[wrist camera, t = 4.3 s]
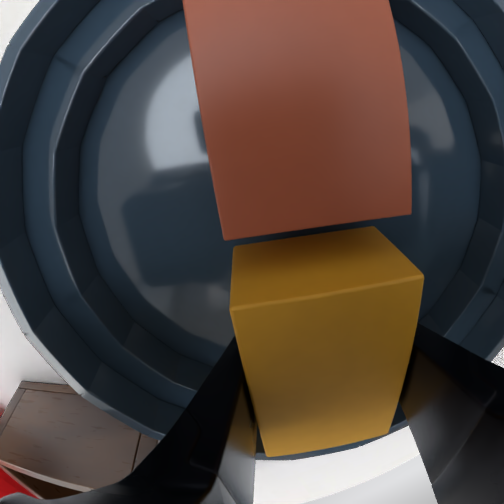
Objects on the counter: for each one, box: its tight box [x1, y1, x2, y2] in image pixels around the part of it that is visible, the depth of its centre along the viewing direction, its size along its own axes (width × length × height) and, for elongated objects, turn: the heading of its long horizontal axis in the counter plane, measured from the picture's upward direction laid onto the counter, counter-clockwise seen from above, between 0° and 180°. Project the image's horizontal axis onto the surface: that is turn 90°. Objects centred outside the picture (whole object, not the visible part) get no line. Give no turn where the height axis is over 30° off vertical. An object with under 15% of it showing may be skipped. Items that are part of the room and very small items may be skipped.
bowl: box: [0, 0, 504, 460], centre depth 8 cm, size 17×17×4 cm
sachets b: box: [182, 0, 412, 241], centre depth 6 cm, size 4×6×3 cm, turn 8°
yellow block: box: [229, 226, 424, 457], centre depth 8 cm, size 4×6×3 cm, turn 9°
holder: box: [0, 381, 160, 500], centre depth 12 cm, size 10×10×6 cm
